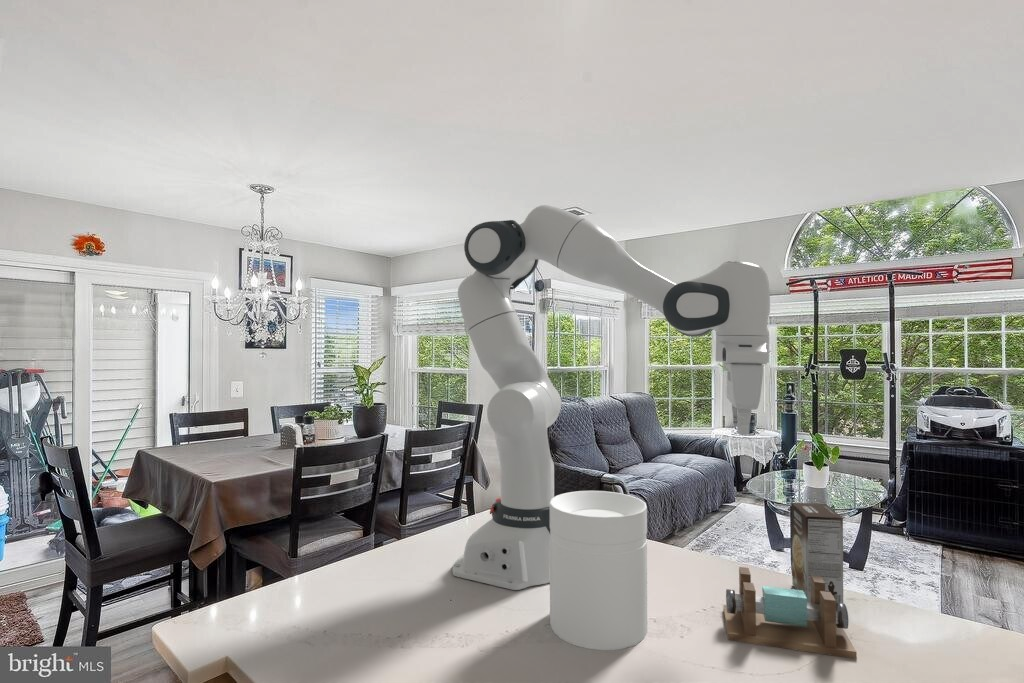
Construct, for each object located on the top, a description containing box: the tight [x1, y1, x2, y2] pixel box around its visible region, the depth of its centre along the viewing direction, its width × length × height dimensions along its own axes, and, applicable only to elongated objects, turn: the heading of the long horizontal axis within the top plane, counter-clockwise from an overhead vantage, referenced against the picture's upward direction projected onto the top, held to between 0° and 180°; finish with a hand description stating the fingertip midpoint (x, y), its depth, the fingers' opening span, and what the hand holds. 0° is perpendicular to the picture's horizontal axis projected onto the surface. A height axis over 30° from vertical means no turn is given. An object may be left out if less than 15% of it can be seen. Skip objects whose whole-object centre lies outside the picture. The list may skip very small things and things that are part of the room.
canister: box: [549, 490, 649, 652], centre depth 90 cm, size 16×16×20 cm
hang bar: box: [725, 585, 850, 630], centre depth 87 cm, size 17×4×4 cm, turn 73°
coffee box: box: [790, 502, 844, 603], centre depth 100 cm, size 9×6×16 cm
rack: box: [723, 566, 858, 659], centre depth 87 cm, size 18×10×8 cm, turn 73°
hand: (740, 429), depth 97 cm, fingers open, 8 cm apart
